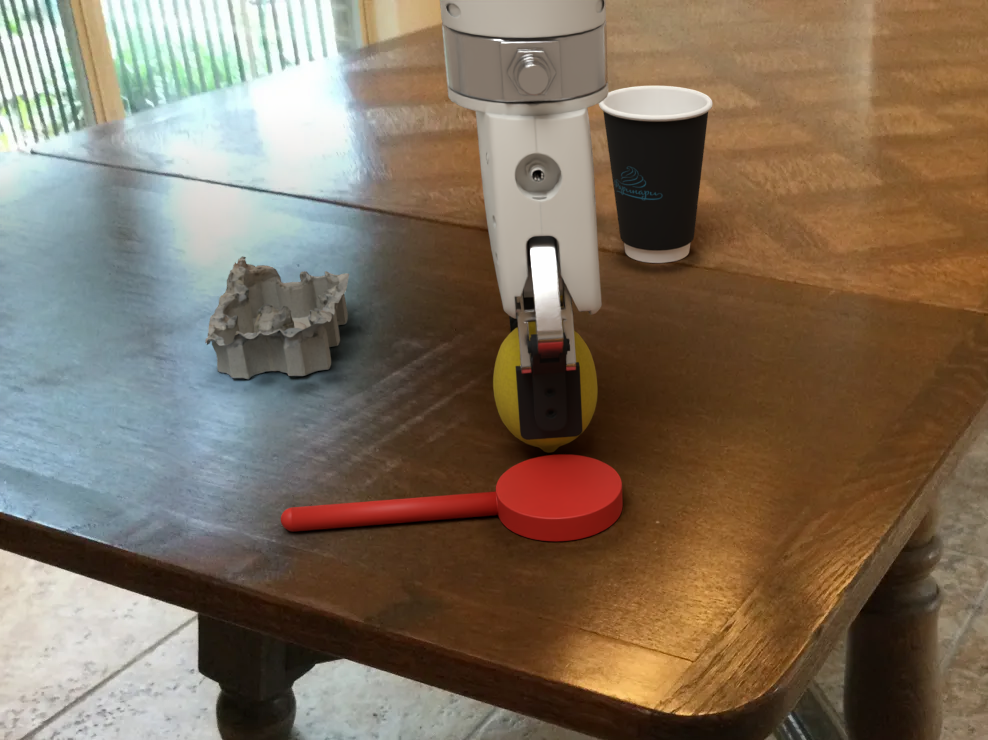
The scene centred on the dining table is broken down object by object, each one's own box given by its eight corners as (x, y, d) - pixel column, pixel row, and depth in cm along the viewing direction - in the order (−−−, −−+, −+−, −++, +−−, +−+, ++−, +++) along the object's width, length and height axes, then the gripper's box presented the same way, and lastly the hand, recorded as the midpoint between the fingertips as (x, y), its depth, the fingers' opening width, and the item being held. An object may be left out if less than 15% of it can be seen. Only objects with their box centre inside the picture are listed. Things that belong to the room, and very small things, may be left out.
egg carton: (249, 311, 89) (238, 252, 87) (362, 312, 90) (354, 253, 87) (200, 382, 80) (186, 318, 78) (327, 382, 81) (316, 319, 78)
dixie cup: (603, 272, 96) (598, 116, 90) (603, 232, 103) (598, 85, 97) (714, 270, 97) (716, 115, 90) (707, 231, 103) (708, 84, 97)
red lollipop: (276, 566, 64) (272, 541, 64) (288, 497, 70) (284, 474, 69) (630, 536, 67) (629, 512, 66) (615, 472, 72) (614, 449, 72)
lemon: (583, 421, 77) (577, 290, 73) (612, 466, 73) (608, 330, 68) (488, 436, 75) (476, 303, 71) (513, 484, 71) (502, 346, 67)
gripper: (629, 111, 56) (636, 482, 66) (589, 19, 70) (599, 337, 80) (447, 116, 55) (482, 494, 65) (443, 22, 69) (472, 344, 79)
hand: (546, 404), depth 73 cm, fingers closed on lemon, 5 cm apart
